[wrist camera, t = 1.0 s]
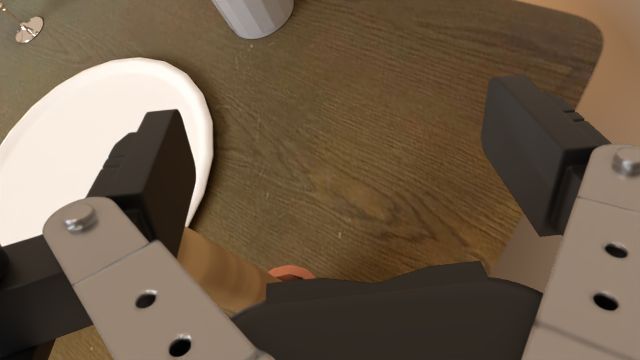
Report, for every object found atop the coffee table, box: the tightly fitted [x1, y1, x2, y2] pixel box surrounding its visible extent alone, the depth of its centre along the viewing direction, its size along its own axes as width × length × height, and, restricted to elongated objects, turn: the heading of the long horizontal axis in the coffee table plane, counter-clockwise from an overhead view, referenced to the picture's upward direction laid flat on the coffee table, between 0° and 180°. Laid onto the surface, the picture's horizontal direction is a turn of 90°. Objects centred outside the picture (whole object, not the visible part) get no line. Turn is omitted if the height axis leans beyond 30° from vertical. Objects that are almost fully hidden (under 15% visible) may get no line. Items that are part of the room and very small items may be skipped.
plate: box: [0, 57, 213, 247], centre depth 47 cm, size 29×29×1 cm
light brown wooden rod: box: [177, 226, 283, 313], centre depth 25 cm, size 3×3×20 cm
